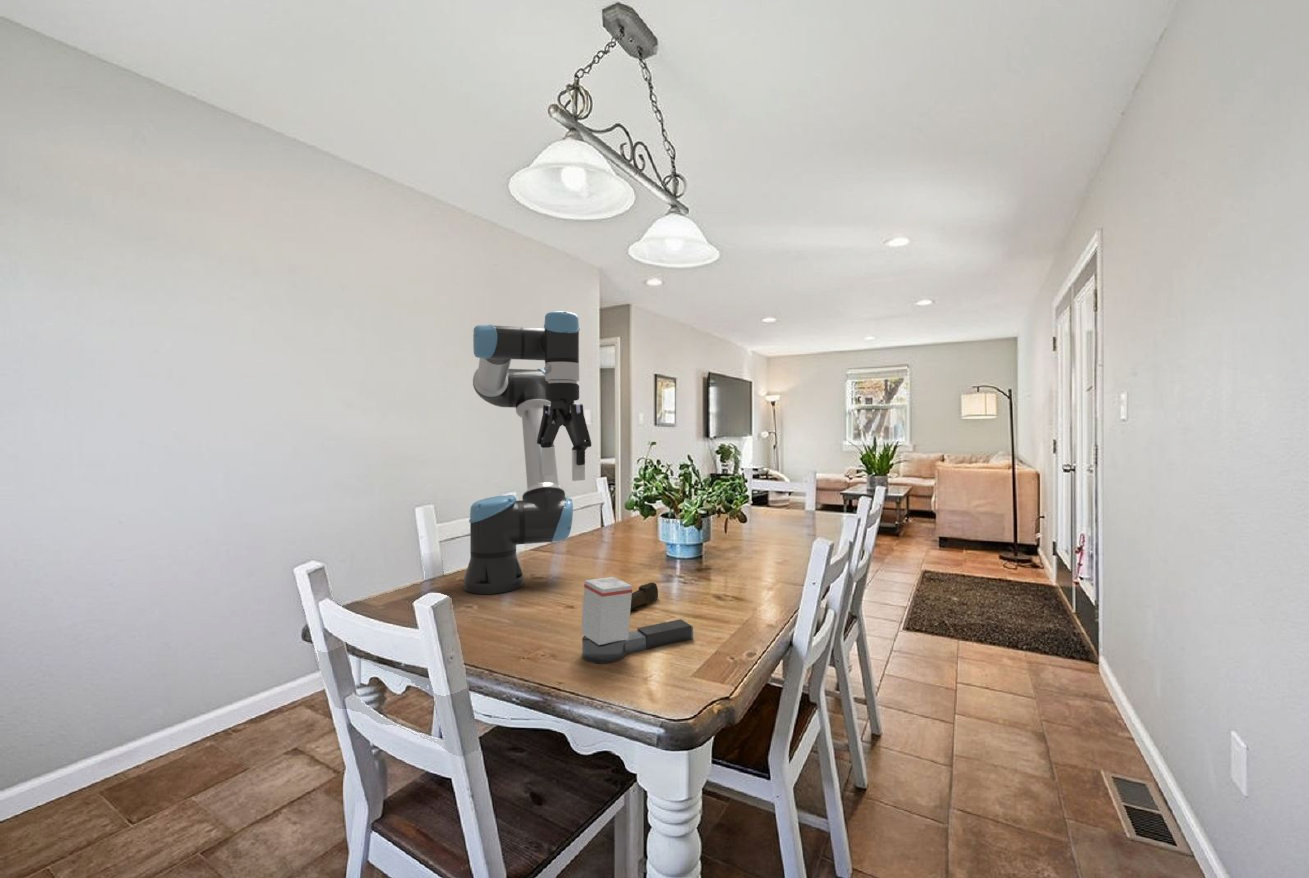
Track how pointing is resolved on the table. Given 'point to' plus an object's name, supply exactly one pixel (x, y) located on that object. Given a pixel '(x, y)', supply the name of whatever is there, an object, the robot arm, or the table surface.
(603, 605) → the red-striped grey block
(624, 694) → the table surface
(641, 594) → the hand tool
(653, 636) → the ratchet
